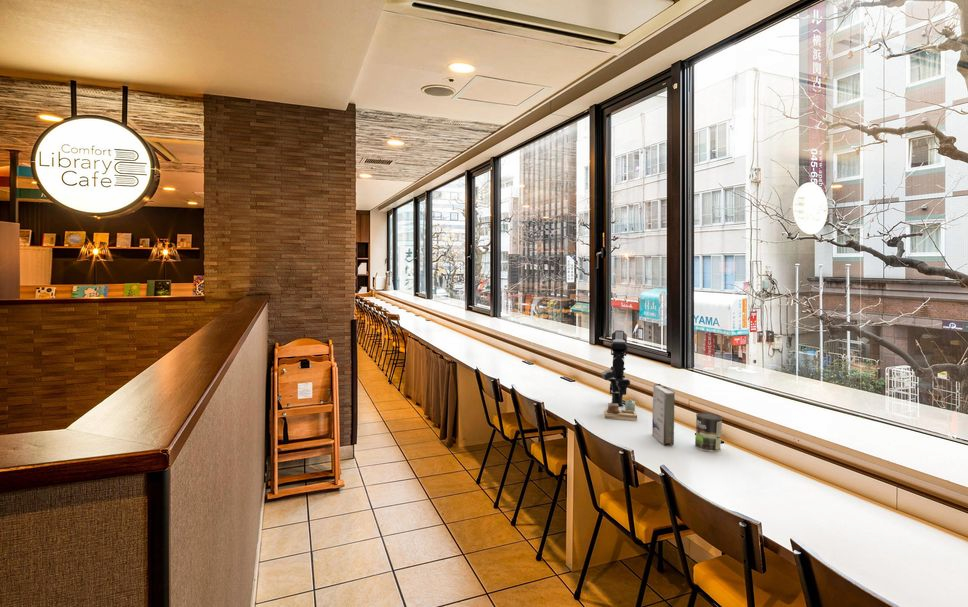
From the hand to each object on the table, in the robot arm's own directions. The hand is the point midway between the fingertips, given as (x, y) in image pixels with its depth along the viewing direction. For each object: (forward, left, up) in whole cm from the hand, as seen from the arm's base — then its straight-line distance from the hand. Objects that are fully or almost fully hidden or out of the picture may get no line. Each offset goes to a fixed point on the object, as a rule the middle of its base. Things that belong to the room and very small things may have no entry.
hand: (617, 394), depth 266 cm
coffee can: (+41, +36, -11) cm, 56 cm away
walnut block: (+2, -2, -10) cm, 10 cm away
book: (+35, +18, -11) cm, 41 cm away
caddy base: (+2, +2, -11) cm, 11 cm away
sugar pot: (-8, +7, -11) cm, 15 cm away
